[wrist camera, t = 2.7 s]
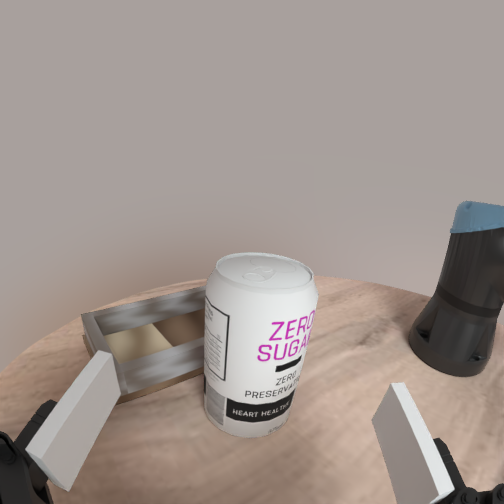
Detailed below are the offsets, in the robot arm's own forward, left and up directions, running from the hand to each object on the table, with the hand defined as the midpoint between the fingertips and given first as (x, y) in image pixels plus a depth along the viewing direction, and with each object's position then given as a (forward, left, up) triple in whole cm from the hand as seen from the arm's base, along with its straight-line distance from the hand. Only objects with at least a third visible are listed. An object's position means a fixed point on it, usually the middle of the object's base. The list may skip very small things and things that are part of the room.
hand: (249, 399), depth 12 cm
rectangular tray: (-9, -20, -12) cm, 25 cm away
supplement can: (-7, -7, -13) cm, 16 cm away
